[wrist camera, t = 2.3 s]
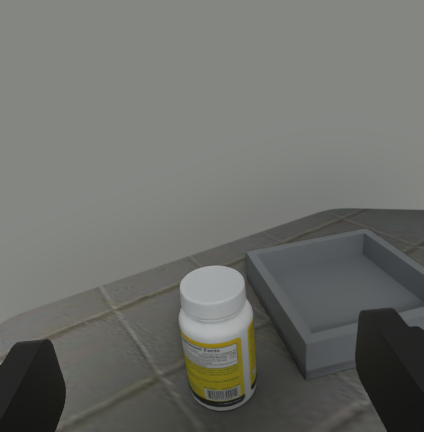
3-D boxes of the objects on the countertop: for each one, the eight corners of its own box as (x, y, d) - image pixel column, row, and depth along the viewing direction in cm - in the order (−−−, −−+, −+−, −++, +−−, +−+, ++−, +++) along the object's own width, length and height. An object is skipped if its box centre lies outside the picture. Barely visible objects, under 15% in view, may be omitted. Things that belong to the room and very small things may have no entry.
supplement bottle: (223, 347, 29) (214, 254, 25) (271, 381, 26) (268, 278, 22) (175, 385, 26) (157, 285, 23) (222, 428, 23) (209, 318, 19)
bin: (364, 255, 39) (366, 228, 38) (467, 337, 27) (476, 302, 26) (247, 279, 37) (245, 251, 36) (305, 380, 25) (306, 344, 24)
